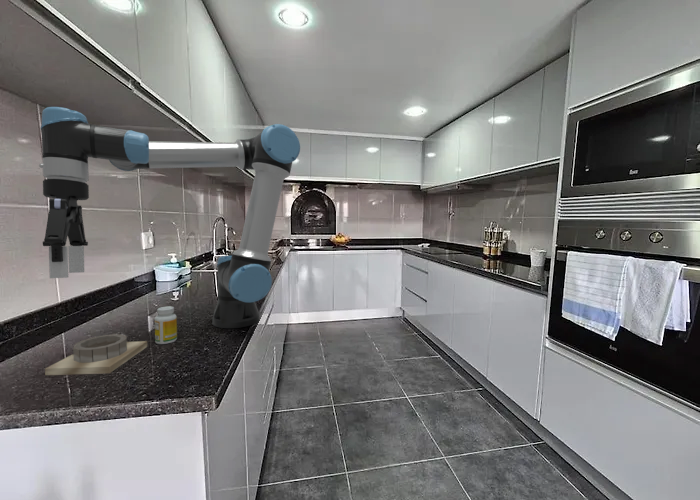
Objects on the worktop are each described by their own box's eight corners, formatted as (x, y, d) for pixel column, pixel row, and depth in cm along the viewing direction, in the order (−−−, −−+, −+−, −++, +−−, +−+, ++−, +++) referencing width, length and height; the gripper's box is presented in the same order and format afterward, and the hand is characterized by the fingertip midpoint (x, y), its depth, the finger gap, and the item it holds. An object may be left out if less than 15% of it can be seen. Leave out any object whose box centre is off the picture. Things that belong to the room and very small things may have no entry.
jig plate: (147, 346, 82) (146, 330, 82) (109, 373, 67) (108, 353, 67) (95, 347, 81) (94, 331, 80) (45, 375, 66) (44, 355, 66)
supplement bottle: (151, 344, 83) (150, 310, 83) (161, 337, 89) (160, 305, 88) (171, 344, 84) (170, 310, 83) (180, 337, 89) (179, 305, 89)
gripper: (61, 188, 77) (63, 271, 77) (18, 166, 55) (21, 282, 56) (99, 190, 81) (100, 270, 81) (73, 171, 59) (75, 279, 60)
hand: (68, 275), depth 69 cm, fingers open, 13 cm apart
